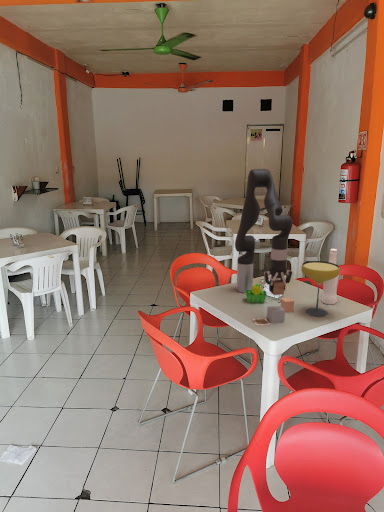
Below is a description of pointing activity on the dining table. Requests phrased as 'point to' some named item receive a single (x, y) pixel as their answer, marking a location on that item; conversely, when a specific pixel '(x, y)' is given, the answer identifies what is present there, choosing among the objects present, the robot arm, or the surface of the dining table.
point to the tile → (261, 322)
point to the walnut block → (278, 287)
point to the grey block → (275, 314)
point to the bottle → (330, 283)
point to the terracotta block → (287, 304)
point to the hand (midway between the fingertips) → (276, 291)
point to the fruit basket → (256, 294)
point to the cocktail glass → (319, 279)
